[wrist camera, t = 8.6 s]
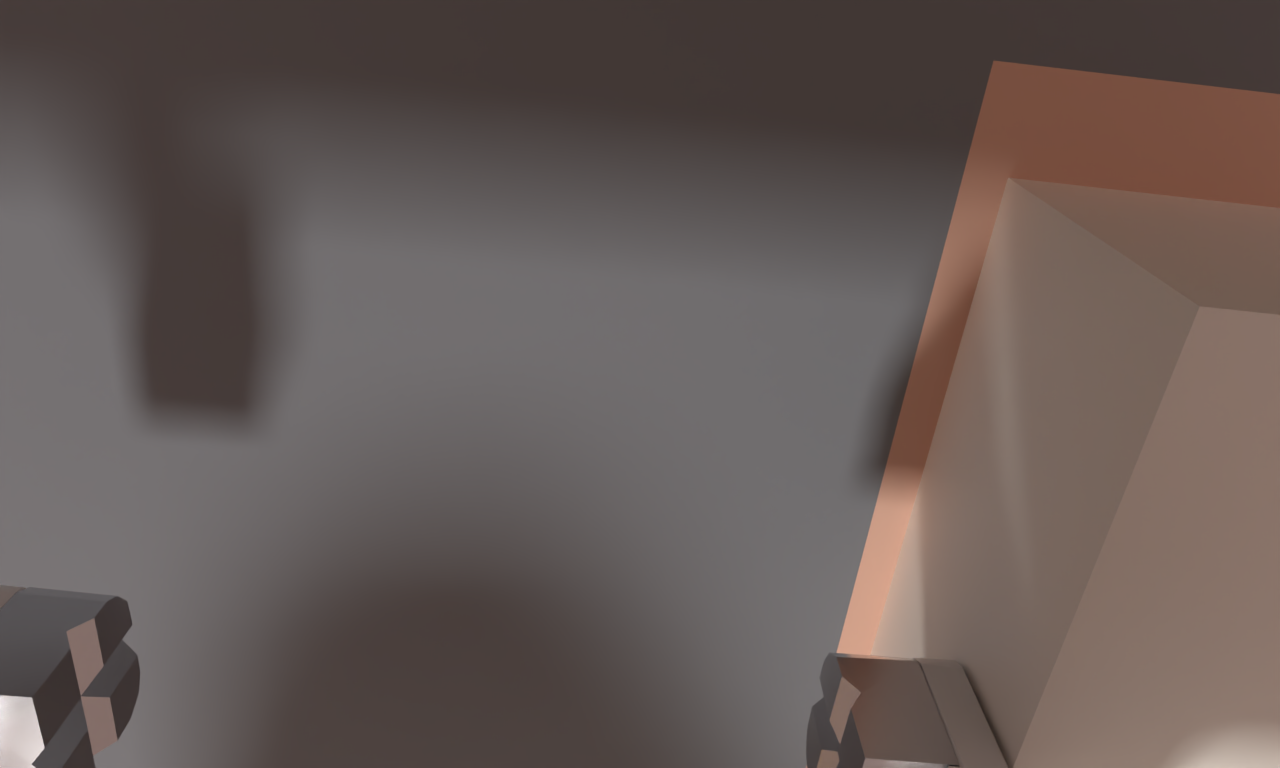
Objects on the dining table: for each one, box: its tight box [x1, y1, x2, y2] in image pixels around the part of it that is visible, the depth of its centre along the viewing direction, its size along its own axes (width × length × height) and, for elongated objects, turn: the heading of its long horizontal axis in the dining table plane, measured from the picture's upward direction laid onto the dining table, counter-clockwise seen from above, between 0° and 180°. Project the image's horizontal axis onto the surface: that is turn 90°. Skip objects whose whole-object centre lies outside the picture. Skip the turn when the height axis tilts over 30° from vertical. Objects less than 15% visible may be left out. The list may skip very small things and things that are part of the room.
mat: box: [0, 0, 1280, 768], centre depth 13 cm, size 16×29×1 cm, turn 84°
